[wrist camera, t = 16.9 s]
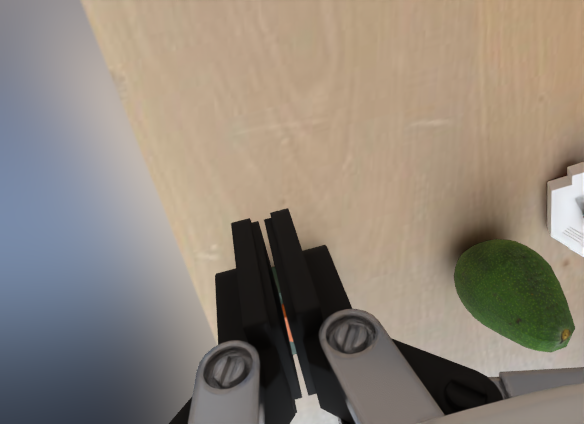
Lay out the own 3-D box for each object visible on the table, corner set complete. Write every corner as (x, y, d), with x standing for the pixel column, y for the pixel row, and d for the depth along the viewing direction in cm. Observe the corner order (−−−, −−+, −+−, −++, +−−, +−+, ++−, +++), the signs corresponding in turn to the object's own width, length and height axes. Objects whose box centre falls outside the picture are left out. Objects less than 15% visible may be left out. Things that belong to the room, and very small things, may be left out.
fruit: (448, 223, 42) (525, 310, 32) (522, 217, 43) (619, 299, 33) (433, 287, 46) (497, 382, 36) (501, 279, 47) (582, 370, 37)
